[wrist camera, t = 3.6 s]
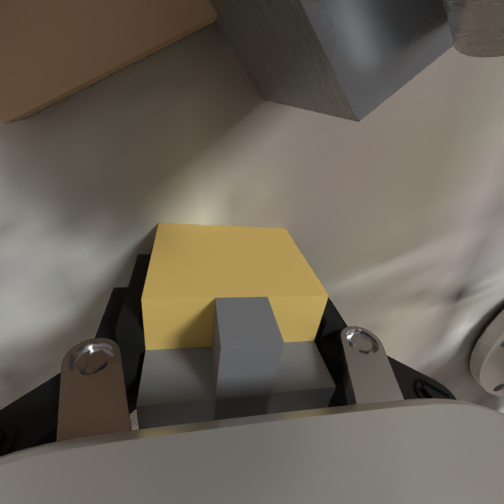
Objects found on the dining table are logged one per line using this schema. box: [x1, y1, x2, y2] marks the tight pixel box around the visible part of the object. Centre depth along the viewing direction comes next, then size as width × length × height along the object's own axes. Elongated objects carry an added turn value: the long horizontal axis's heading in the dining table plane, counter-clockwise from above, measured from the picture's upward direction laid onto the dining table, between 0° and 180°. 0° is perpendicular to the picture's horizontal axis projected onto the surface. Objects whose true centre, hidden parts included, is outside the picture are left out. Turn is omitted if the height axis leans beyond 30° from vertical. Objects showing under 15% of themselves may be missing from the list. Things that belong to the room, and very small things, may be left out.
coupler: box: [136, 223, 336, 430], centre depth 10 cm, size 5×5×6 cm
